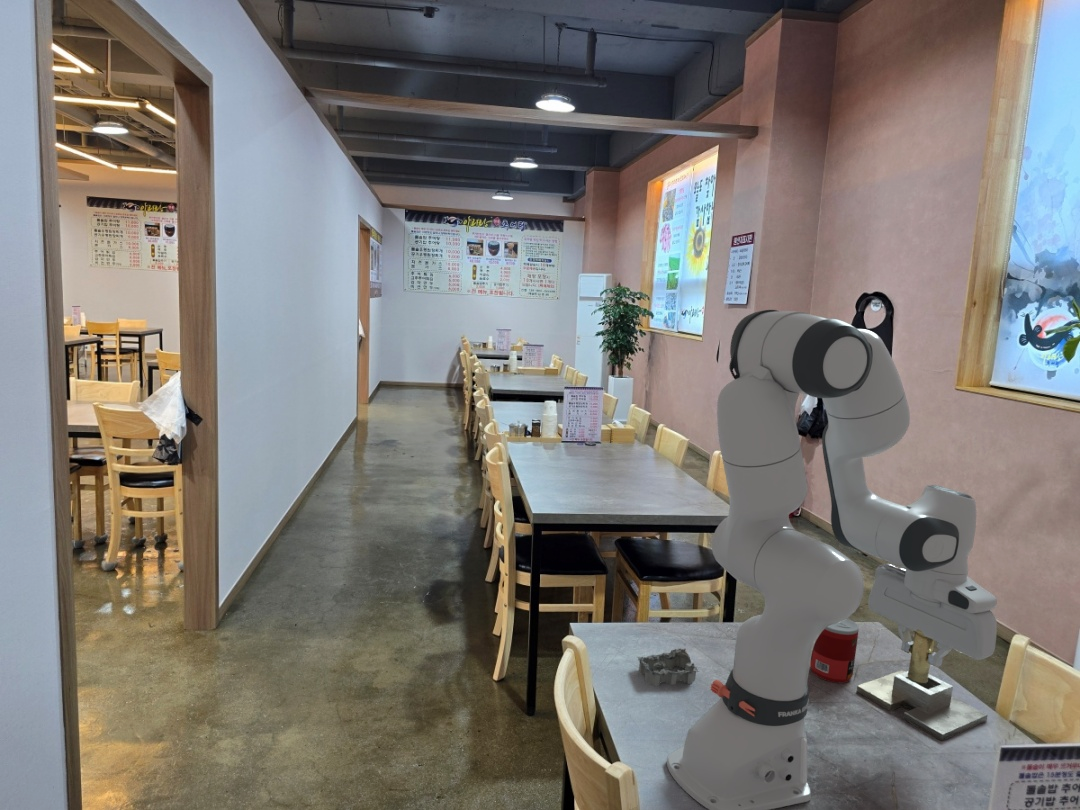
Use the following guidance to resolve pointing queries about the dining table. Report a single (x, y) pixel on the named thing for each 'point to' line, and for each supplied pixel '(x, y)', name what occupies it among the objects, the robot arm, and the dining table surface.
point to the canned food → (835, 652)
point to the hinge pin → (920, 657)
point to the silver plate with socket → (924, 703)
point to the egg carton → (668, 662)
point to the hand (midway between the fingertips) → (920, 658)
